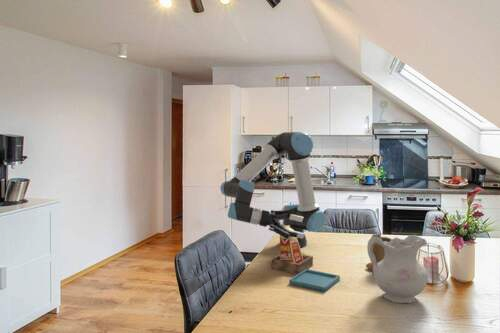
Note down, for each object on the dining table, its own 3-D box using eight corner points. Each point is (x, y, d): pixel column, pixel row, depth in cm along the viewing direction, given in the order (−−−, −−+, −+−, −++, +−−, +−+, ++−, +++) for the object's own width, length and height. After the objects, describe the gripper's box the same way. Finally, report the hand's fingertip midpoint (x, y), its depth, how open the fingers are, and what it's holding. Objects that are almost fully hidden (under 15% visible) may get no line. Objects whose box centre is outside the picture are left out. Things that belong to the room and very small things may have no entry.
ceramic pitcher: (379, 312, 146) (383, 245, 142) (358, 287, 165) (361, 228, 161) (435, 308, 149) (441, 243, 145) (408, 285, 168) (413, 226, 164)
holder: (271, 268, 190) (271, 259, 190) (286, 260, 202) (286, 251, 202) (299, 274, 182) (299, 264, 182) (312, 265, 194) (312, 256, 194)
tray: (289, 284, 171) (289, 279, 170) (305, 273, 184) (306, 268, 184) (325, 292, 162) (325, 287, 162) (339, 280, 175) (339, 275, 175)
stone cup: (381, 276, 180) (382, 242, 178) (362, 268, 190) (362, 237, 189) (405, 270, 187) (406, 238, 186) (385, 263, 197) (386, 232, 196)
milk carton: (296, 268, 186) (289, 225, 186) (279, 268, 191) (272, 226, 191) (305, 262, 193) (298, 221, 193) (287, 262, 198) (281, 222, 198)
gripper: (260, 226, 181) (306, 237, 182) (263, 197, 204) (304, 207, 204) (256, 239, 185) (302, 249, 185) (259, 209, 207) (300, 219, 208)
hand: (303, 227), depth 195 cm, fingers open, 13 cm apart
